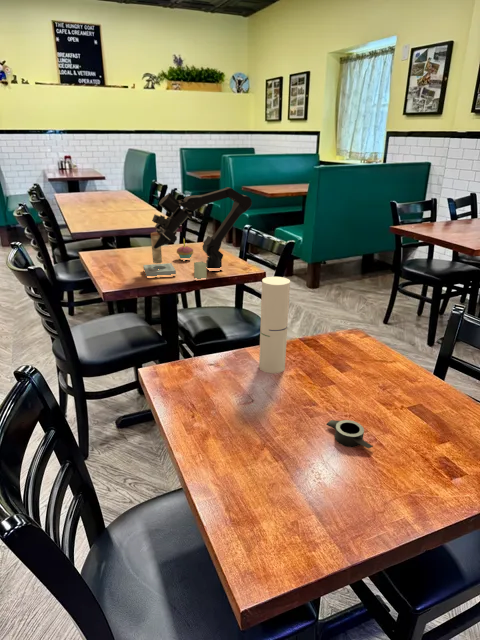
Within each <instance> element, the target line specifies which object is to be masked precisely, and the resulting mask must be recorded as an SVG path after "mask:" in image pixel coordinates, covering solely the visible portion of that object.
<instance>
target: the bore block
mask: <svg viewBox="0 0 480 640" xmlns="http://www.w3.org/2000/svg"><path fill="white" fill-rule="evenodd" d="M158 269H159V270H158ZM144 270H145V273H146V275H145V277H146V276H157V275H171V274H176V275H177V272H176V269H175V267H174V265H173V263H172V262H171V263H169V262H168V263H153V264H152V263H151V264H143V271H144ZM145 273H144V274H145Z"/></svg>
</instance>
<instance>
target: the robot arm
mask: <svg viewBox="0 0 480 640" xmlns="http://www.w3.org/2000/svg"><path fill="white" fill-rule="evenodd" d="M227 198H229V199H230V200H231V201H233V204H232V206H231V207H232V208H231V210H230V212H229V213H228V214H227V216H226V217H225V219H224V220H223V221H222V223H221V225H220V226H219V227H218V229H217V230H216V231H215V233H214V234H213V235H212V236H209V235H207V236H206V238H205V240H204V241H202V251H203V252H204V253H205V254H206V256H207V257H206V261H205V263H206V267H207V268H220V267H222V268H223V266H222V265H223V264H222V263H223V261H222V259H223V258H224V254H223V253H222V252H221V251H220V249H221V246H222V242H223V240H224V238H225V237H226V236H227V234H228V233H229V232H230V230H231V229H232V227H233V225H234V224H235V223H236V221H238V219H239V218H240V216H241V215H243V214H244V213H246V212H247V211H248V210H249V209H250V208H251V207H252V204H253V202H252V198H251V197H250V196H248V195H244V194H242V193H240V192H239V191H236V190H234V189H233V188H231V187H228V186H227V187H225V188H221V189H219V190H215V191H211V192H208V193H204V194H198V195H196V194H195V195H187V196H185V197H184V199H177V198H176V197H174V195H173V194H172V193H171V192H168V193H167V194H166V195H164V197H162V198H161V199H160V201H159V203H158V205H159V206H160V207H161V208H162V209H164V210H165V212H167V213H168V214H170V213H172V214H171V216H167V217H166V218H165V216H164V215H162V214H161V215H158V214H156V213H155V214H154V215H153V218H152V222H153V223H154V224H155V226H154V227H155V230H156V231H155V232H158V233H160V237H159V239H158V241H157V242H156V244H155V245H154V248H155V249H156V248H158V247H160V246H161V247H162V246H164V245H167V244H169V243H174V244H175V243H176V241H177V240H178V237H177V235H175V233H176V232H177V230H178V229H181V227H182V226H181V225H182V224H183V223H184V222H185V221H186V220H187V219H188V218H189V219H190V220H193V213H192V212H194V211H196V210H198V209H200V208H202V207H204V206H205V205H207V204H211V203H214V202H218V201H220V200H224V199H227ZM188 210H189V211H190V212H189V211H188Z"/></svg>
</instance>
